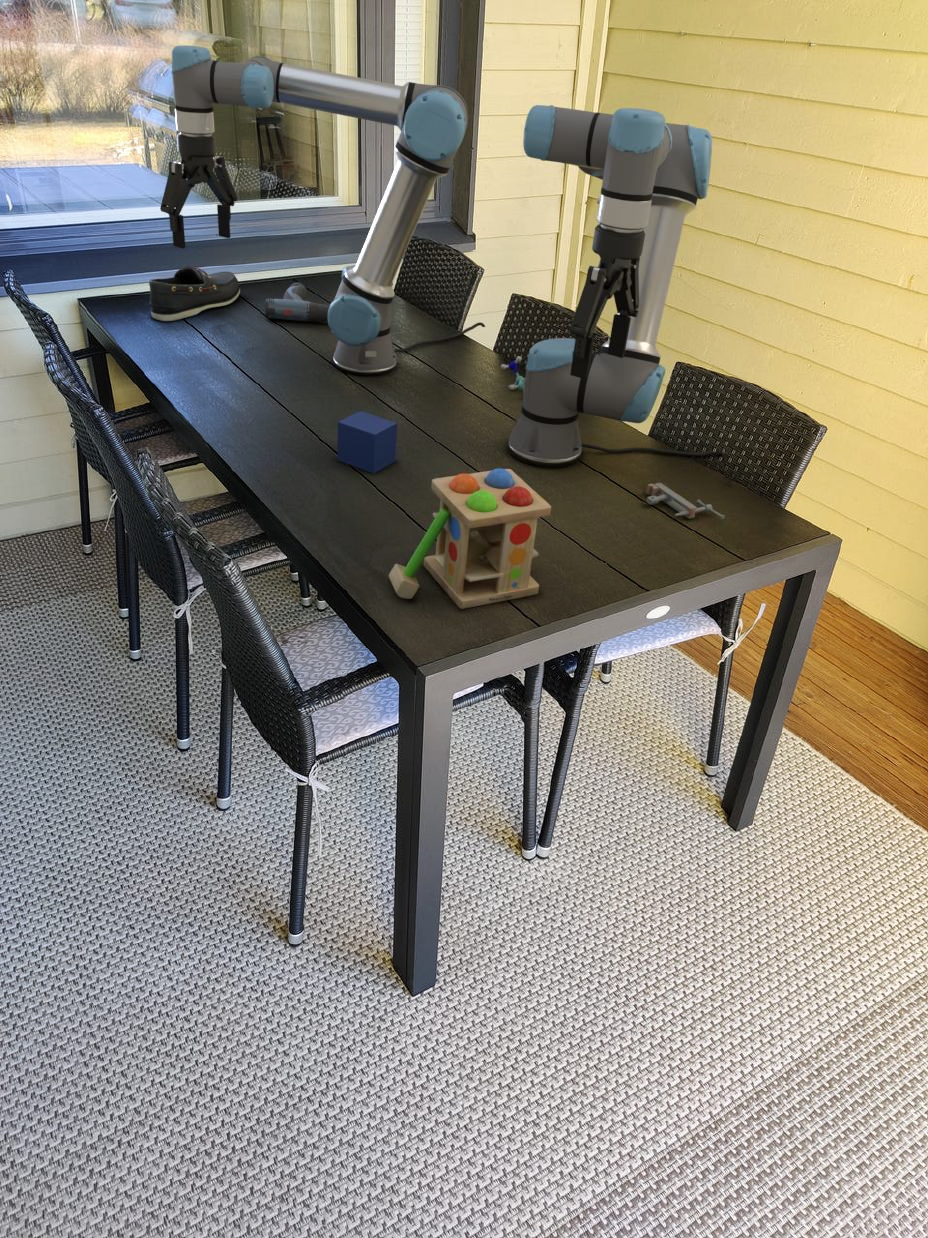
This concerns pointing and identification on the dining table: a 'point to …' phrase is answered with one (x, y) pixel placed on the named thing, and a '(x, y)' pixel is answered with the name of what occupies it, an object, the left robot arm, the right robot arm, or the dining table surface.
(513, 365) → the molecular model
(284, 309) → the power drill
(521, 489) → the pounding bench toy
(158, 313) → the boat shoe
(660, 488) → the clamp
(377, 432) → the brick
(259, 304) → the dining table surface
